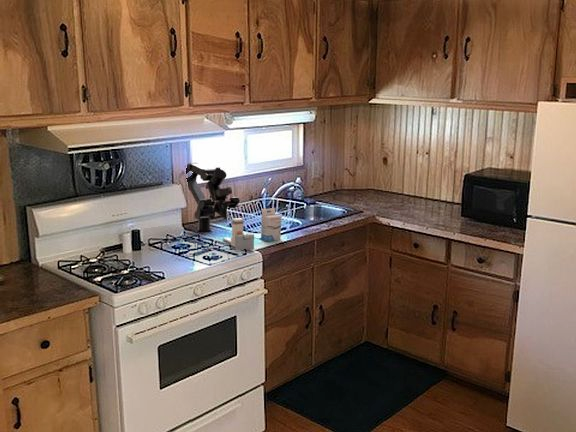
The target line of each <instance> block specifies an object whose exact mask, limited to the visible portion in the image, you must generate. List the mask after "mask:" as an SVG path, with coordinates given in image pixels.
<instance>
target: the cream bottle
mask: <svg viewBox="0 0 576 432" xmlns="http://www.w3.org/2000/svg"><path fill="white" fill-rule="evenodd" d="M231 220H232V221H231V225H232V226H231V227H232V228H231V244H230V246H231V247H234V248H235V235H237V232H238V231H241V232H242V233H244V223H245V221H244V219H243V218H241V217H238V218H235V217H234V218H232V219H231Z"/></svg>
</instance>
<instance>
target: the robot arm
mask: <svg viewBox="0 0 576 432" xmlns="http://www.w3.org/2000/svg"><path fill="white" fill-rule="evenodd" d="M186 166H187V168H186V174H187V173H188V172H189V171H192V172H193V173H192V175H191V176H190V177H188V178H186V179H187V182H188V186H187V187H188V189H189V192H190V193H191V195H192V197H193V198H194V201H195V202H196V204H197V207H196V210H195V212H194V215H193V216H194V219H196V220H198V227H197V232H204V233H205V232H212V228H211V219H215V215H216V213H217V215H219V216H220V217H222V218H223V219H224V220H226V219H227V217H228V215H227V214H228V208H230V209H235V208H237V206H238V204H239V203H240V202H241V200H240V198H239V197H238V196H233V197H230V198H229V199H228V197H227V196H230V195H231V194H233V189H232V187H231V186H227V187H225V188H222V187H221V185H223V183H224V181H225V179H226V177H227V173H226V171H225V170H223V169H221V167H215V168H211V167H209V168H207V167H205V166H203V165H201V164H199V163H198V162H189V163H187V164H186ZM198 176H200V177H199V178H200V180H202V181H203V182H207V183H206V185H205V189H206V190H208V192H209V198H206V197H205V195H204V193H203V191H202V189H201V188H200V186H199V183H198V182H197V179H198ZM227 199H228V200H227Z"/></svg>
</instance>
